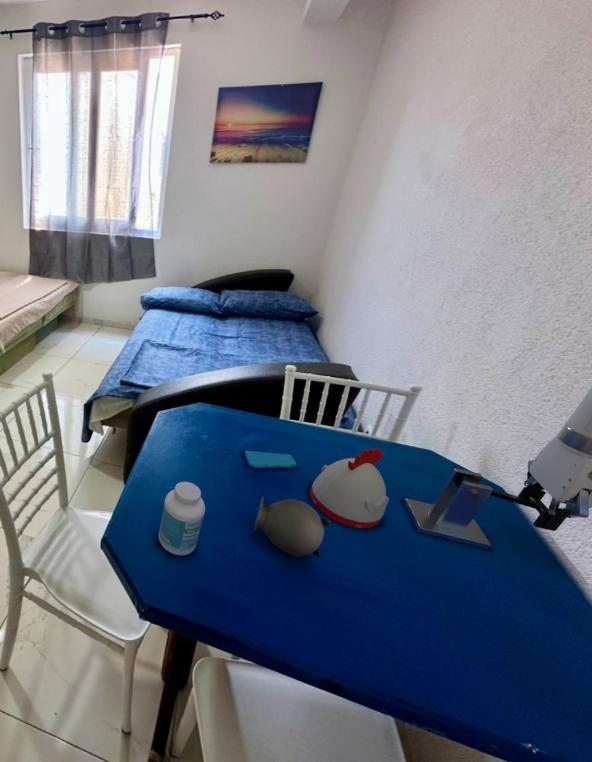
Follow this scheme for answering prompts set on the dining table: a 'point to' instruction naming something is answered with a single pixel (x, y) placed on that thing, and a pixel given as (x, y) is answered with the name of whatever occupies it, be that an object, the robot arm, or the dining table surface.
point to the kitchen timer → (352, 490)
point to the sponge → (269, 460)
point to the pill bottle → (182, 519)
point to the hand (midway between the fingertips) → (534, 515)
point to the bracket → (453, 511)
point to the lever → (510, 496)
